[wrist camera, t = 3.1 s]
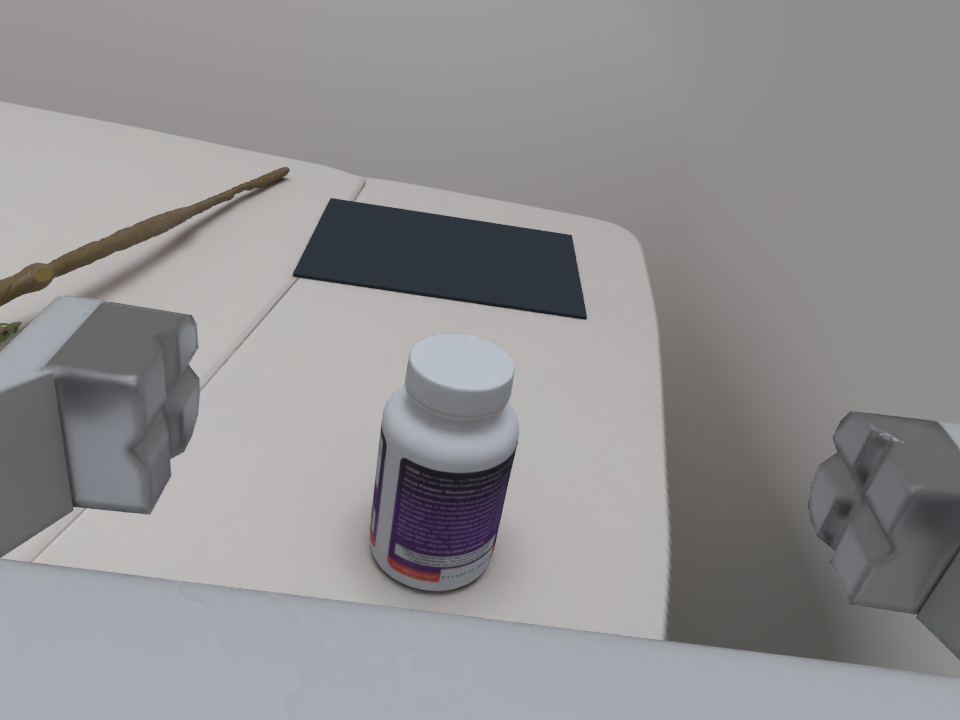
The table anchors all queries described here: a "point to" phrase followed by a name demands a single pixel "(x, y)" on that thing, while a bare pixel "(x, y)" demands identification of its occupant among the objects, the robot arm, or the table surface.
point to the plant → (112, 246)
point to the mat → (444, 258)
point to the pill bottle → (444, 463)
